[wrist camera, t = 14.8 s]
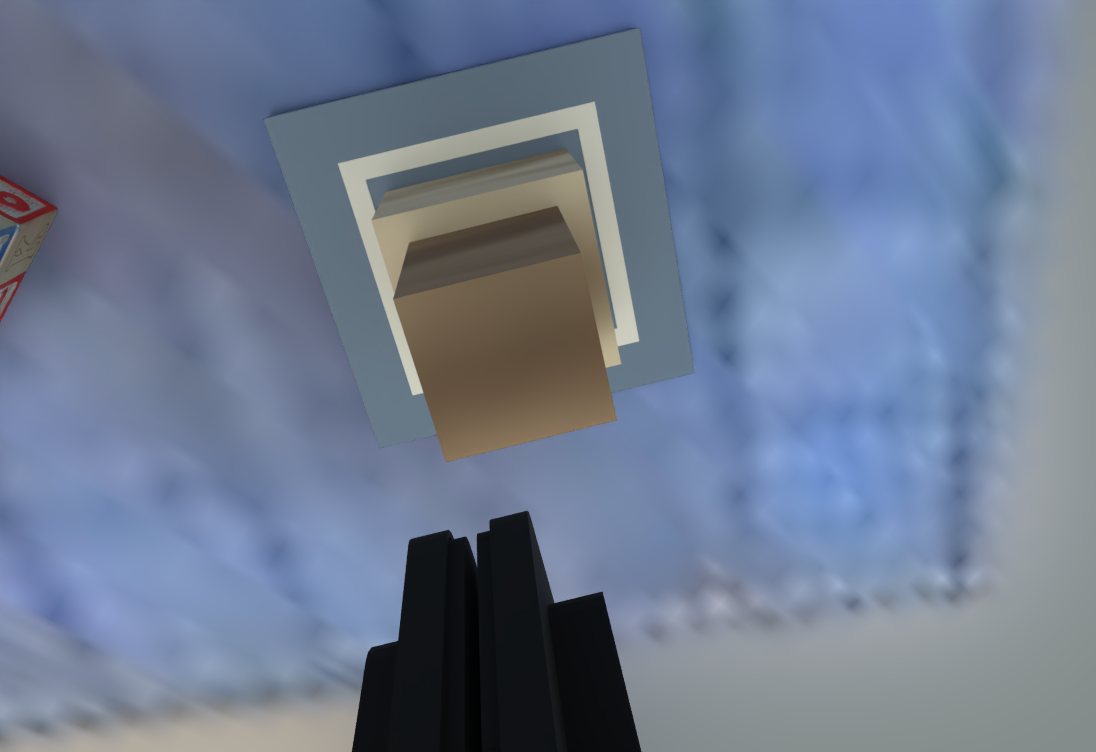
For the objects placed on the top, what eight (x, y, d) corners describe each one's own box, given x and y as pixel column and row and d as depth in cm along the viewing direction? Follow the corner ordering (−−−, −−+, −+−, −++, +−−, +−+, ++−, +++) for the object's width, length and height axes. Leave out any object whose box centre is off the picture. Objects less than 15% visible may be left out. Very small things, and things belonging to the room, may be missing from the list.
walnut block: (409, 242, 26) (392, 299, 21) (557, 205, 26) (580, 252, 21) (450, 377, 28) (445, 462, 23) (588, 343, 28) (617, 420, 23)
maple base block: (385, 191, 30) (371, 220, 26) (565, 148, 30) (582, 169, 26) (436, 357, 33) (430, 409, 29) (600, 318, 33) (621, 364, 29)
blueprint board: (270, 115, 30) (262, 119, 29) (633, 28, 30) (640, 27, 29) (382, 435, 36) (379, 449, 35) (687, 362, 36) (694, 373, 34)
